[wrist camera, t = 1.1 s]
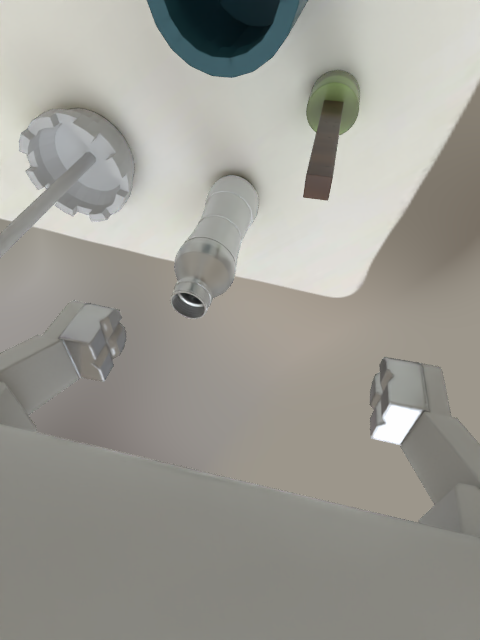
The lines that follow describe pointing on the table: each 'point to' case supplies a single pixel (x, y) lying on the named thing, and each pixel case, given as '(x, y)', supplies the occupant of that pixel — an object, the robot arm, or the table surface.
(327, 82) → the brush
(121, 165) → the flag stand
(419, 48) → the table surface
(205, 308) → the plastic bottle
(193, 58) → the jar
